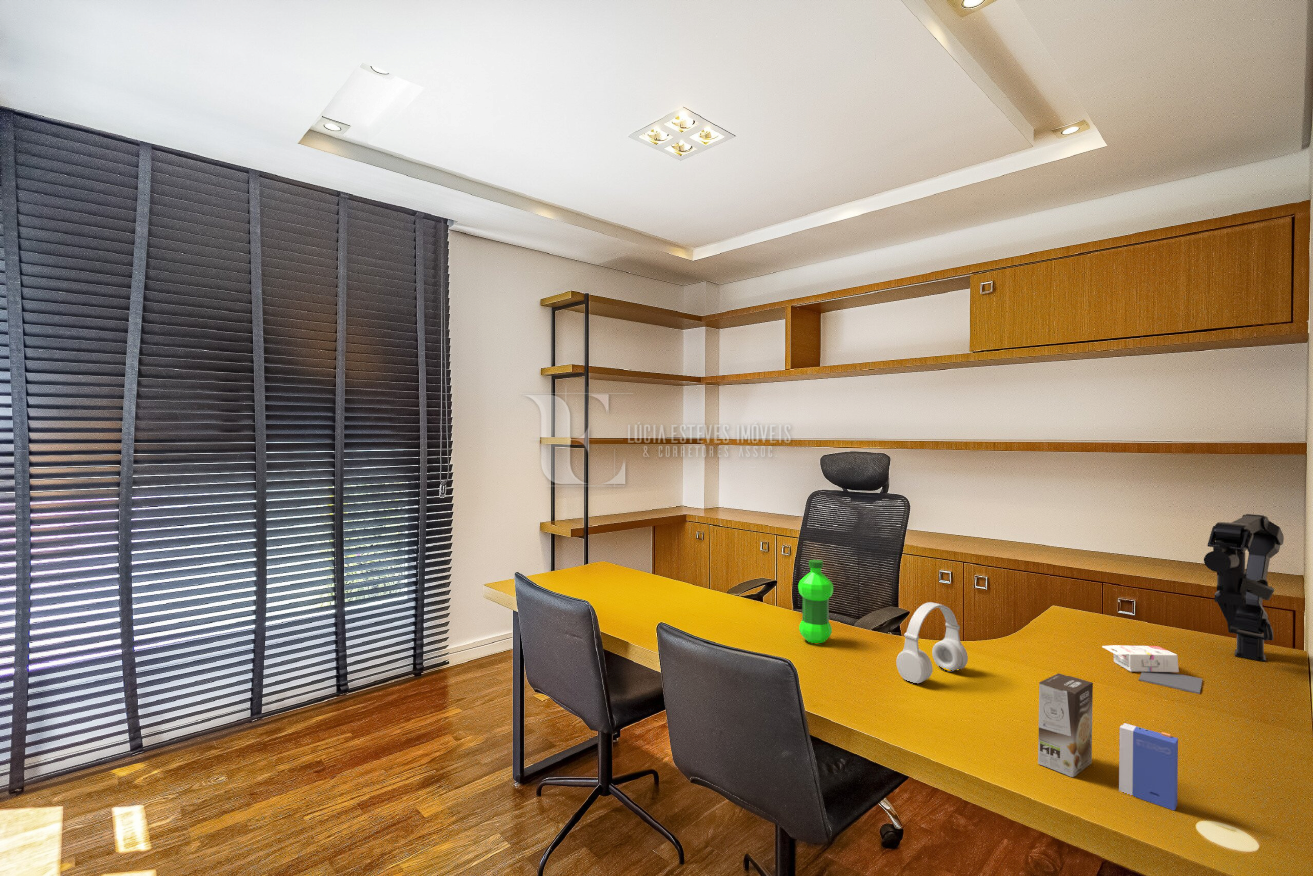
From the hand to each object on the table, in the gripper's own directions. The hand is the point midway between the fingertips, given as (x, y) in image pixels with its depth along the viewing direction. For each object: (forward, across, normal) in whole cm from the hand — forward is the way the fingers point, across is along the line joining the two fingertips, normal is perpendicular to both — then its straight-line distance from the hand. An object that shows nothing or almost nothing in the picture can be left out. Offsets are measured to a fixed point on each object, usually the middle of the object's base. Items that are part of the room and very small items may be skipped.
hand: (1230, 624), depth 171 cm
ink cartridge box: (+9, -16, +12) cm, 22 cm away
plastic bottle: (+12, -64, +93) cm, 114 cm away
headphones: (+12, -66, +57) cm, 88 cm away
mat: (+12, -24, +11) cm, 29 cm away
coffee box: (+12, -93, +22) cm, 96 cm away
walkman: (+12, -96, +9) cm, 97 cm away
